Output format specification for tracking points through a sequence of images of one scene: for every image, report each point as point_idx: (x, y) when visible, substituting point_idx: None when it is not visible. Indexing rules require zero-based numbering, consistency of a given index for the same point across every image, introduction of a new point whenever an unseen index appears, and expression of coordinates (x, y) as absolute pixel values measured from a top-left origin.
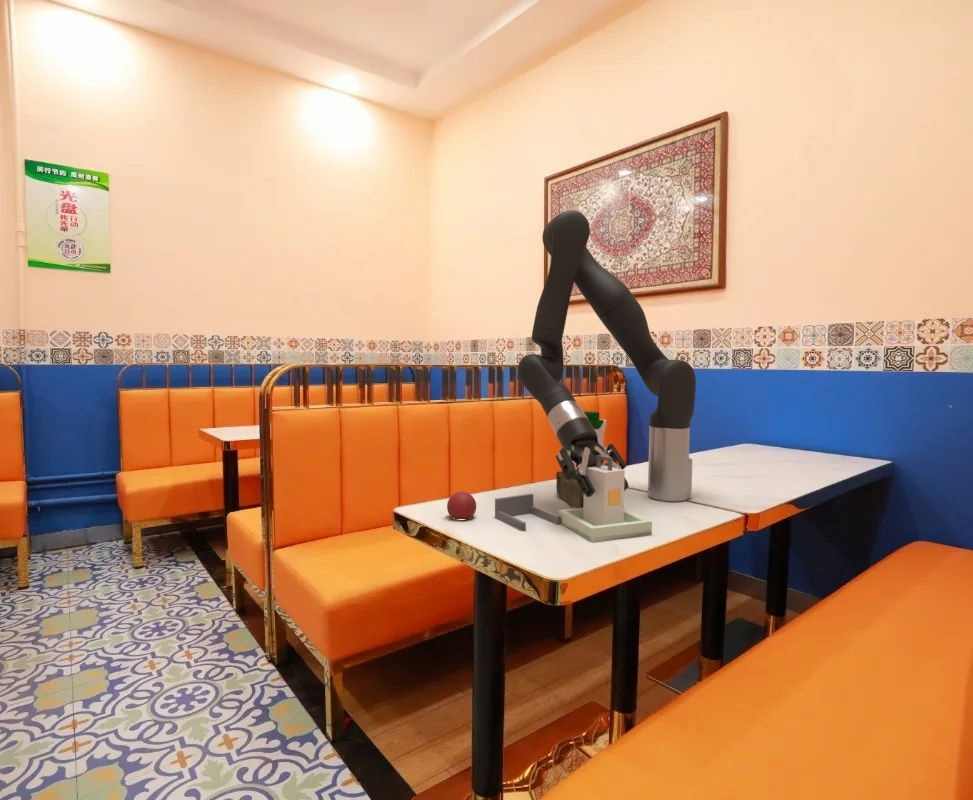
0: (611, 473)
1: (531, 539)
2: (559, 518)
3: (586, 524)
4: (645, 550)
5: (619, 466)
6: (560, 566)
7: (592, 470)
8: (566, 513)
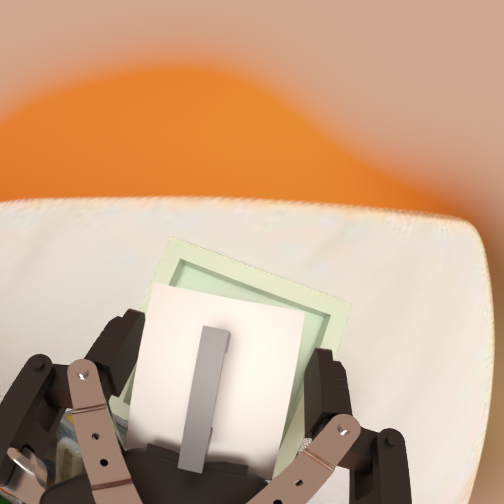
0: (255, 303)
1: (418, 398)
2: (294, 458)
3: (335, 338)
4: (285, 201)
5: (75, 370)
6: (456, 256)
7: (284, 416)
8: (295, 444)
